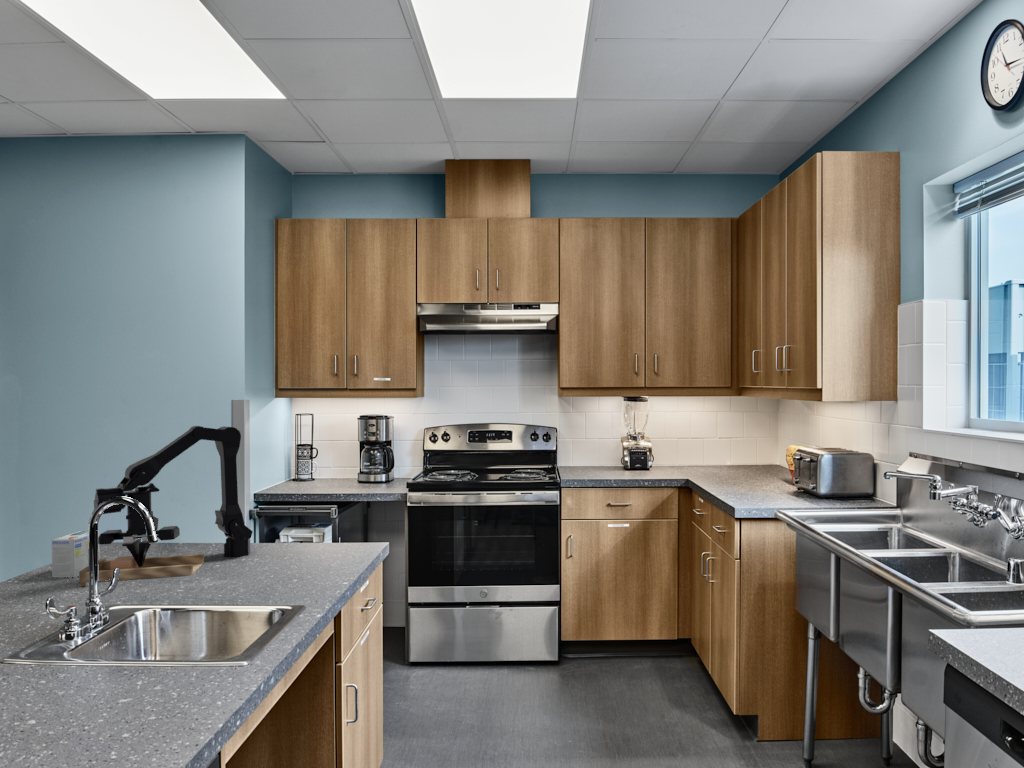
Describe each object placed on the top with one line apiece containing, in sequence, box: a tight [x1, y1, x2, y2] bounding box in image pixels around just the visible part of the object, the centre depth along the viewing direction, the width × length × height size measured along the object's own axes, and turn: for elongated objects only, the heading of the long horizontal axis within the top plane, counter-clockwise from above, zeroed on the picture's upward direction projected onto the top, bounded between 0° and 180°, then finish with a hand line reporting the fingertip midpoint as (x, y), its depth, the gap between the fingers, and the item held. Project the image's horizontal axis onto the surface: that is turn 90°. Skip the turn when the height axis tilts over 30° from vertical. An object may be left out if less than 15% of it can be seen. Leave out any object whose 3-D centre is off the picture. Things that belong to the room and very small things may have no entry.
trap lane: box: [78, 553, 205, 588], centre depth 176 cm, size 27×13×4 cm, turn 102°
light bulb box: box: [51, 530, 101, 579], centre depth 181 cm, size 11×7×11 cm, turn 178°
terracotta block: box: [110, 555, 138, 570], centre depth 175 cm, size 5×6×4 cm
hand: (140, 566), depth 176 cm, fingers closed
